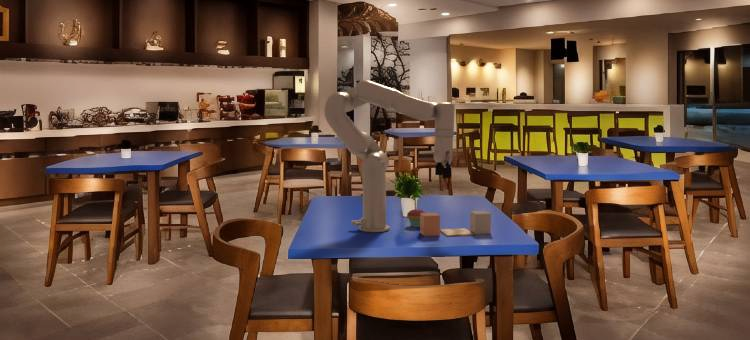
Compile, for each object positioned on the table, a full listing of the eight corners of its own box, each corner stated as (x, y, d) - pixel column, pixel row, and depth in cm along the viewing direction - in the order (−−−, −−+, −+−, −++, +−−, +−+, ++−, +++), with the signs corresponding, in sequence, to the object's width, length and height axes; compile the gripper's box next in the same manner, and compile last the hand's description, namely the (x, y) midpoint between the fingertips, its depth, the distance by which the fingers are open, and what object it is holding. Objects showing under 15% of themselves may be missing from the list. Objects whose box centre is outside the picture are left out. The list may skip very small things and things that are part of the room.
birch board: (447, 236, 239) (447, 234, 239) (439, 230, 250) (439, 229, 250) (474, 235, 241) (474, 233, 241) (465, 229, 252) (465, 228, 252)
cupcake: (403, 224, 262) (403, 197, 261) (421, 223, 266) (421, 195, 264) (412, 228, 255) (412, 200, 253) (430, 227, 258) (430, 198, 257)
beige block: (475, 234, 244) (475, 214, 243) (470, 230, 250) (470, 211, 249) (490, 233, 245) (490, 213, 244) (484, 230, 251) (485, 210, 250)
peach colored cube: (424, 236, 240) (424, 216, 239) (419, 232, 246) (420, 213, 245) (439, 235, 241) (440, 215, 240) (435, 232, 247) (435, 212, 247)
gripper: (428, 132, 251) (427, 174, 253) (442, 134, 235) (440, 179, 237) (446, 132, 253) (444, 173, 255) (460, 134, 236) (459, 179, 238)
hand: (442, 176), depth 246 cm, fingers open, 9 cm apart
